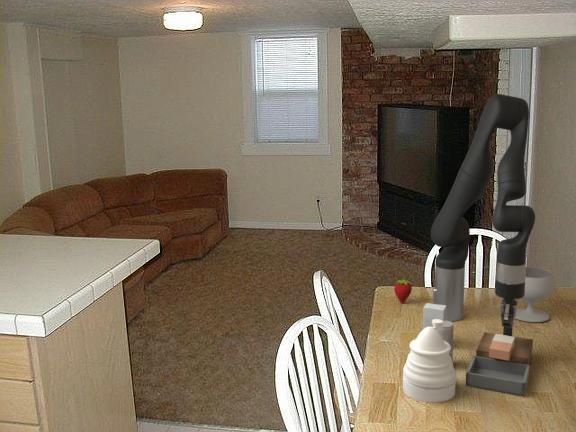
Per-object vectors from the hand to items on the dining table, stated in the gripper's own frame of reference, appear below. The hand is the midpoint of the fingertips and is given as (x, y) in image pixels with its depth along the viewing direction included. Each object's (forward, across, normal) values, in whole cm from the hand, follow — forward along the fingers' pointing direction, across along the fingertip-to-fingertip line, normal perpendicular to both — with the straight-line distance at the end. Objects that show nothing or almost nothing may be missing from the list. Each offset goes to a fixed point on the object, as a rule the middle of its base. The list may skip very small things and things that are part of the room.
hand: (507, 338), depth 170 cm
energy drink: (+6, +11, -15) cm, 20 cm away
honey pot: (+6, +26, -16) cm, 31 cm away
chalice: (+6, -35, +3) cm, 36 cm away
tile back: (+1, +4, -1) cm, 4 cm away
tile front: (+1, +9, -1) cm, 9 cm away
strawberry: (+6, -32, -38) cm, 50 cm away
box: (+6, +15, 0) cm, 16 cm away
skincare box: (+6, -2, -20) cm, 21 cm away
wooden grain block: (+6, +2, 0) cm, 6 cm away
